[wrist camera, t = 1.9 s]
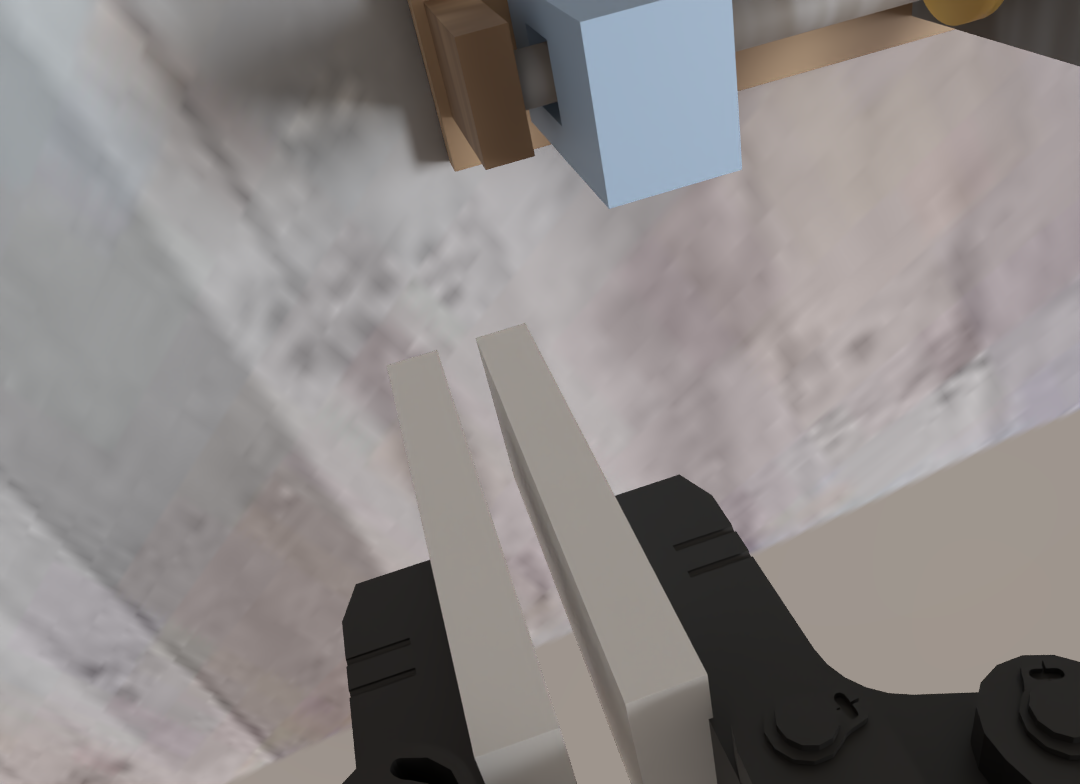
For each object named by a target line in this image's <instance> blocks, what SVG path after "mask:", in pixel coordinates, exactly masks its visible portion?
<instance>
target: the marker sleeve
mask: <svg viewBox="0 0 1080 784" xmlns="http://www.w3.org/2000/svg"><path fill="white" fill-rule="evenodd" d="M507 2H508V7H509V12H510V17H511V22H512V27H513V32H514V37H515V42H516V47H517V49H520V48H523V47H527V46H531V45H534V44H538V43H542V42H545V41H547V45H548V50H549V56H550V61H551V67H552V72H553V78H554V84H555V89H556V95H557V100H558V102H555V103H551V104H547V105H544V106H540V107H537V108H533V109H530V110H529V112H530V117H531V121H532V123H533V124H534V125H535V126H536V127H537V128H538V129H539V130H540V132H541V133H542V134H543V135H544V136H545V137H546V138H547V139H548V141H549V142H550V143H551V144H552V145H553V146H554V147H555V148H556V150H557V151H558V152H559V153H560V154H561V155H562V156H563V157H564V159H565V160H566V161H567V162H568V163H569V164H570V165H571V166H572V168H573V169H574V170H575V171H576V172H577V173H578V174H579V175H580V177H581V178H582V179H583V180H584V181H585V182H586V183H587V184H588V186H589V187H590V188H591V189H592V190H593V191H594V192H595V193H596V195H597V196H598V197H599V198H600V199H601V200H602V201H603V202H604V204H605V205H606V206H607V207H608V208H609V209H610V208H613V207H617V206H620V205H623V204H627V203H630V202H633V201H637V200H640V199H644V198H647V197H650V196H654V195H657V194H661V193H664V192H667V191H671V190H674V189H678V188H681V187H684V186H688V185H691V184H695V183H698V182H701V181H705V180H708V179H711V178H715V177H718V176H722V175H725V174H728V173H732V172H735V171H739V170H742V160H741V143H740V126H739V110H738V93H737V76H736V59H735V43H734V26H733V9H732V0H507Z"/></svg>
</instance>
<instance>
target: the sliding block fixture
mask: <svg viewBox="0 0 1080 784" xmlns="http://www.w3.org/2000/svg"><path fill="white" fill-rule="evenodd" d="M408 4H409V8H410V11H411V15H412V19H413V23H414V27H415V31H416V34H417V38H418V42H419V46H420V50H421V54H422V57H423V61H424V65H425V69H426V73H427V76H428V80H429V84H430V88H431V92H432V96H433V99H434V103H435V107H436V111H437V115H438V119H439V122H440V126H441V130H442V134H443V138H444V142H445V145H446V149H447V153H448V157H449V161H450V163H451V165H452V167H453V169H454V170H455V172H456V171H459V170H463V169H466V168H470V167H473V166H477V165H480V164H482V165H483V166H484V168H485V169H486V170H487V169H491V168H494V167H498V166H501V165H505V164H508V163H512V162H515V161H519V160H522V159H526V158H529V157H533V156H535V154H534V149H537V148H540V147H544V146H547V145H551V143H550V142H549V141H548V139H547V138H546V137H545V136H544V135H543V134H542V133H541V132H540V130H539V129H538V128H537V127H536V126H535V125H534V124H533V123H532V121H531V117H530V112H529V110H530V109H533V108H537V107H540V106H544V105H547V104H551V103H555V102H558V100H557V95H556V89H555V84H554V78H553V72H552V67H551V61H550V56H549V50H548V45H547V41H545V42H542V43H538V44H534V45H531V46H527V47H523V48H520V49H517V47H516V42H515V37H514V32H513V27H512V22H511V17H510V12H509V7H508V2H507V0H408ZM732 9H733V26H734V43H735V59H736V76H737V91H740V90H744V89H747V88H751V87H754V86H758V85H761V84H765V83H768V82H772V81H775V80H779V79H782V78H786V77H789V76H793V75H796V74H800V73H803V72H807V71H810V70H814V69H817V68H821V67H824V66H828V65H832V64H835V63H839V62H842V61H846V60H849V59H853V58H856V57H860V56H863V55H867V54H870V53H874V52H877V51H881V50H884V49H888V48H891V47H895V46H898V45H902V44H905V43H909V42H912V41H916V40H919V39H923V38H926V37H930V36H933V35H937V34H940V33H944V32H947V31H951V30H954V29H957V30H960V31H964V32H967V33H970V34H974V35H977V36H980V37H984V38H987V39H990V40H994V41H997V42H1000V43H1004V44H1007V45H1010V46H1014V47H1017V48H1020V49H1024V50H1027V51H1030V52H1034V53H1037V54H1040V55H1044V56H1047V57H1050V58H1054V59H1057V60H1060V61H1064V62H1067V63H1070V64H1074V65H1077V66H1080V0H732Z"/></svg>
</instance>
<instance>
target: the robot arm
mask: <svg viewBox="0 0 1080 784" xmlns="http://www.w3.org/2000/svg"><path fill="white" fill-rule="evenodd" d="M476 341H477V344H478V348H479V351H480V355H481V359H482V362H483V366H484V369H485V373H486V377H487V380H488V384H489V388H490V391H491V395H492V398H493V402H494V406H495V409H496V413H497V416H498V420H499V424H500V427H501V431H502V434H503V438H504V442H505V445H506V449H507V453H508V456H509V460H510V463H511V467H512V471H513V474H514V477H515V480H516V483H517V485H518V488H519V491H520V493H521V496H522V498H523V501H524V504H525V506H526V509H527V512H528V514H529V517H530V519H531V522H532V525H533V527H534V530H535V533H536V535H537V538H538V540H539V543H540V546H541V548H542V551H543V554H544V556H545V559H546V561H547V564H548V567H549V569H550V572H551V575H552V577H553V580H554V583H555V585H556V588H557V590H558V593H559V596H560V598H561V601H562V604H563V606H564V609H565V611H566V614H567V617H568V619H569V622H570V625H571V627H572V630H573V632H574V635H575V638H576V640H577V643H578V646H579V648H580V651H581V653H582V656H583V659H584V661H585V664H586V666H587V669H588V672H589V674H590V677H591V680H592V682H593V685H594V688H595V690H596V693H597V695H598V698H599V701H600V703H601V706H602V709H603V711H604V714H605V716H606V719H607V722H608V724H609V727H610V730H611V732H612V735H613V737H614V740H615V743H616V745H617V748H618V751H619V753H620V756H621V758H622V761H623V763H624V766H625V769H626V772H627V774H628V777H629V780H630V782H631V784H1080V662H1077V661H1074V660H1070V659H1067V658H1063V657H1059V656H1055V655H1024V656H1020V657H1017V658H1014V659H1012V660H1009V661H1006V662H1004V663H1002V664H999V665H997V666H996V667H995V668H994V669H993V670H992V671H991V672H990V673H989V674H988V675H987V677H986V678H985V679H984V680H983V681H982V682H981V684H980V689H979V692H978V693H977V692H976V693H949V694H922V695H907V694H892V693H886V692H882V691H878V690H874V689H870V688H866V687H864V686H862V685H860V684H857V683H856V682H853V681H851V680H849V679H847V678H845V677H843V676H842V675H841V674H839V673H838V672H837V671H835V670H834V669H833V668H831V667H830V666H829V665H827V664H826V662H825V661H824V660H823V659H822V658H821V657H820V655H819V654H818V653H817V652H816V651H815V650H814V648H813V647H812V645H811V644H810V642H809V641H808V639H807V638H806V636H805V635H804V633H803V632H802V630H801V629H800V627H799V626H798V624H797V623H796V621H795V620H794V618H793V617H792V615H791V614H790V613H789V611H788V609H787V608H786V606H785V605H784V603H783V602H782V600H781V599H780V597H779V596H778V594H777V592H776V591H775V589H774V588H773V587H772V585H771V583H770V582H769V581H768V579H767V577H766V576H765V575H764V573H763V572H762V570H761V568H760V567H759V565H758V564H757V562H756V561H755V559H754V558H753V557H751V556H750V554H749V551H748V549H747V547H746V546H745V544H744V543H743V541H742V540H741V538H740V537H739V535H738V534H737V532H736V531H735V532H734V530H733V528H732V525H731V523H730V522H729V520H728V519H727V517H726V516H725V514H724V513H723V511H722V510H721V508H720V507H719V505H718V504H717V502H716V501H715V499H714V498H713V496H712V495H711V494H709V493H707V492H706V491H704V490H703V489H701V488H700V487H698V486H696V485H695V484H693V483H692V482H690V481H689V480H687V479H685V478H684V477H682V476H681V475H677V476H674V477H671V478H668V479H665V480H662V481H659V482H655V483H652V484H649V485H646V486H643V487H640V488H637V489H634V490H631V491H628V492H625V493H622V494H619V495H616V496H615V495H614V493H613V491H612V490H611V488H610V486H609V484H608V482H607V480H606V478H605V476H604V474H603V472H602V470H601V468H600V466H599V464H598V463H597V461H596V459H595V457H594V455H593V453H592V451H591V449H590V447H589V445H588V443H587V441H586V439H585V438H584V436H583V434H582V432H581V430H580V428H579V426H578V424H577V422H576V420H575V418H574V416H573V414H572V412H571V411H570V409H569V407H568V405H567V403H566V401H565V399H564V397H563V395H562V393H561V391H560V389H559V387H558V386H557V384H556V382H555V380H554V378H553V376H552V374H551V372H550V370H549V368H548V366H547V364H546V362H545V360H544V359H543V357H542V355H541V353H540V351H539V349H538V347H537V345H536V343H535V341H534V339H533V337H532V335H531V334H530V332H529V330H528V328H527V326H526V324H525V323H524V324H521V325H517V326H514V327H511V328H508V329H504V330H501V331H498V332H494V333H491V334H488V335H485V336H481V337H478V338H476ZM387 370H388V374H389V378H390V383H391V387H392V392H393V396H394V401H395V405H396V410H397V414H398V419H399V423H400V428H401V432H402V437H403V441H404V445H405V450H406V454H407V459H408V463H409V468H410V472H411V477H412V481H413V486H414V490H415V495H416V499H417V504H418V508H419V512H420V517H421V521H422V526H423V530H424V535H425V539H426V544H427V548H428V553H429V557H430V560H428V561H425V562H422V563H419V564H416V565H413V566H410V567H407V568H404V569H401V570H398V571H395V572H392V573H389V574H386V575H383V576H379V577H376V578H373V579H370V580H367V581H364V582H361V583H358V584H356V586H355V588H354V591H353V594H352V597H351V599H350V602H349V605H348V607H347V610H346V613H345V616H344V618H343V621H342V625H343V635H344V646H345V656H346V661H347V665H348V666H347V677H348V687H349V692H350V696H351V698H350V708H351V718H352V729H353V739H354V749H355V759H356V770H355V771H354V772H353V773H352V774H351V775H350V776H349V777H348V778H347V779H346V780H345V782H343V783H342V784H577V782H576V779H575V776H574V773H573V769H572V766H571V762H570V759H569V756H568V753H567V749H566V746H565V743H564V739H563V736H562V733H561V730H560V726H559V723H558V720H557V717H556V714H555V711H554V708H553V705H552V702H551V699H550V696H549V693H548V690H547V686H546V684H545V680H544V677H543V674H542V671H541V668H540V665H539V662H538V659H537V656H536V653H535V650H534V646H533V643H532V640H531V637H530V634H529V631H528V628H527V625H526V622H525V619H524V616H523V613H522V610H521V607H520V603H519V600H518V597H517V594H516V591H515V588H514V585H513V582H512V579H511V576H510V573H509V570H508V567H507V564H506V561H505V557H504V554H503V551H502V548H501V545H500V542H499V539H498V536H497V533H496V530H495V527H494V524H493V521H492V518H491V514H490V511H489V508H488V505H487V502H486V499H485V496H484V493H483V490H482V487H481V484H480V481H479V478H478V475H477V471H476V468H475V465H474V462H473V459H472V456H471V453H470V450H469V447H468V444H467V441H466V438H465V435H464V432H463V428H462V425H461V422H460V419H459V416H458V413H457V410H456V407H455V404H454V401H453V398H452V395H451V392H450V389H449V386H448V382H447V379H446V376H445V373H444V370H443V367H442V364H441V361H440V358H439V355H438V352H437V350H436V351H432V352H429V353H426V354H423V355H419V356H416V357H413V358H409V359H406V360H403V361H400V362H396V363H393V364H390V365H387Z"/></svg>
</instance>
